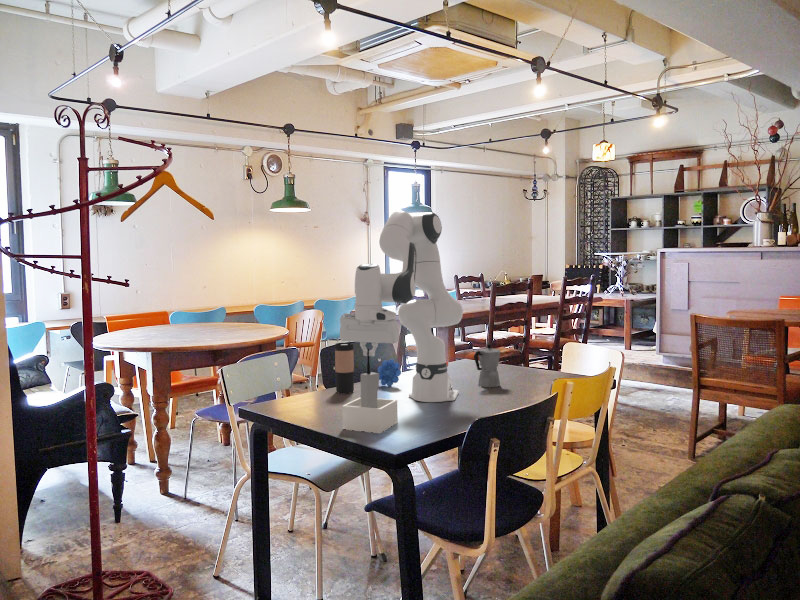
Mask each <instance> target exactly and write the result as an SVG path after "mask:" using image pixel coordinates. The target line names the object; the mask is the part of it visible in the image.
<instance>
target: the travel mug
mask: <svg viewBox="0 0 800 600" xmlns="http://www.w3.org/2000/svg"><path fill="white" fill-rule="evenodd" d="M334 354H335V355H334V365H335V369H334V370H335V371H334V373H335V391H337V392H339V393H338V394H341V393H347V394H350V393H349V392H352V393H354V392H355V390H354V389H355V388H354V387H355V363H354V362H355V361H354V357H355V356H354V354H355V353H354V343H351V342H337V343H334ZM353 391H354V392H353ZM337 392H336V393H337Z"/></svg>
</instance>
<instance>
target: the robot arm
mask: <svg viewBox="0 0 800 600" xmlns="http://www.w3.org/2000/svg"><path fill="white" fill-rule="evenodd" d="M442 229H443V227H442V222H441V218H440V216H438V215H437V213H435V212H424V213H417V214H412V215H411V214H410V213H408V212H406V211H403V210H397V211H395V212H392V214H391V215H390V216H389V217H388V219H387V220H386V222H385V224H384V226H383V228H382V231H381V233H380V236H379V241H378V242H379V248H380V249H381V251H382V252H383V254H385V256H387V257H388V258H390V259H393V260H397V261H399V262H402V269H401V272H397V273H381V269H380V265H378V264H376V263H365V264H364V263H363V264H360V265H358V266H357V267H356V269H355V276H354V294H355V302H354V313H347V312H346V313H343V314H342V315H340V319H339V320H340V321H339V323H340V327H339V339H340V341H341V342H347V343H351V342H352V343H353V342H354V343H359V347H360V348H361V350H362V355H363V356H364V357H367V349H368V348H367V346H366V345H367V343H371V346H372V348H371V350H370V349H369V357H376V350H377V348H378V347H379V344H397V342H399V340H400V330H399V324H398V321H396V320H395V319H397V316H398V320H399V322H400V325H402V326H403V327H404V328H406V329H407V330H408V331H409V333H411V335H412V337H413V339H414V341H415V346H416V363H415V374H414V375H413V376H412V389H411V393H409V394H408V398H409V399H410V398H411V399H413V400H415V401H418V402H423V403H440V402H441V403H442V402H449V401H450V402H451V401H455V400H456V399H457V397H458V395H459V389H455V388H454V381H453V378H452V377H451V375H450V374H449V373H448V367H449V361H446V344H445V341H444V340H443V339H442V338H440V337H438V336H436V335H434V334H433V332H432V328H442V327H443V328H445V327H450V326H454V325H458V324H459V323H460V322H461V321H462V319H463V316H464V310H463V306H462V304H461V303H460V301H458V299H456V298H455V297H453V296H452V295H451V294H450V293H449V291H448V289H447V288H446V286H445V283H444V280H443V275H442V274H443V273H442V267H441V266H442V265H441V264H442V263H441V257H440V253H439V252H440V251H439V248H438V244H437V243H438V239H439V238H440V236H441V235H442ZM416 288H417V289H418V290H420V291H422V292H424V293H425V294H426V295H427V297H428V298H427V299H426V298H425V299H413V298H415V295H416ZM383 303H397V304H400V306H399V308H398V312H397V313H396V312H394V311H391V310H388V309H386V308H383Z"/></svg>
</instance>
